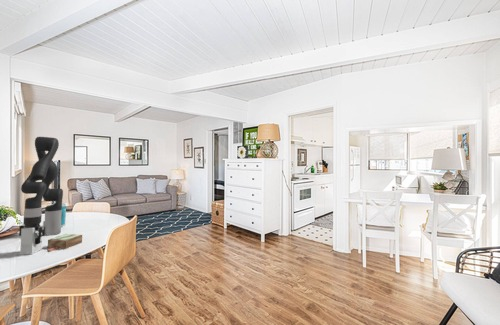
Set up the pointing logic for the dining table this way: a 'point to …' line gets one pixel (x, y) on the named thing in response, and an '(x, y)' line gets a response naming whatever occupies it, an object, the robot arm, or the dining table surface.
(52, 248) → the arrow marker
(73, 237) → the stand
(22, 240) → the skincare box
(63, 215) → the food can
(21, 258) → the dining table surface
